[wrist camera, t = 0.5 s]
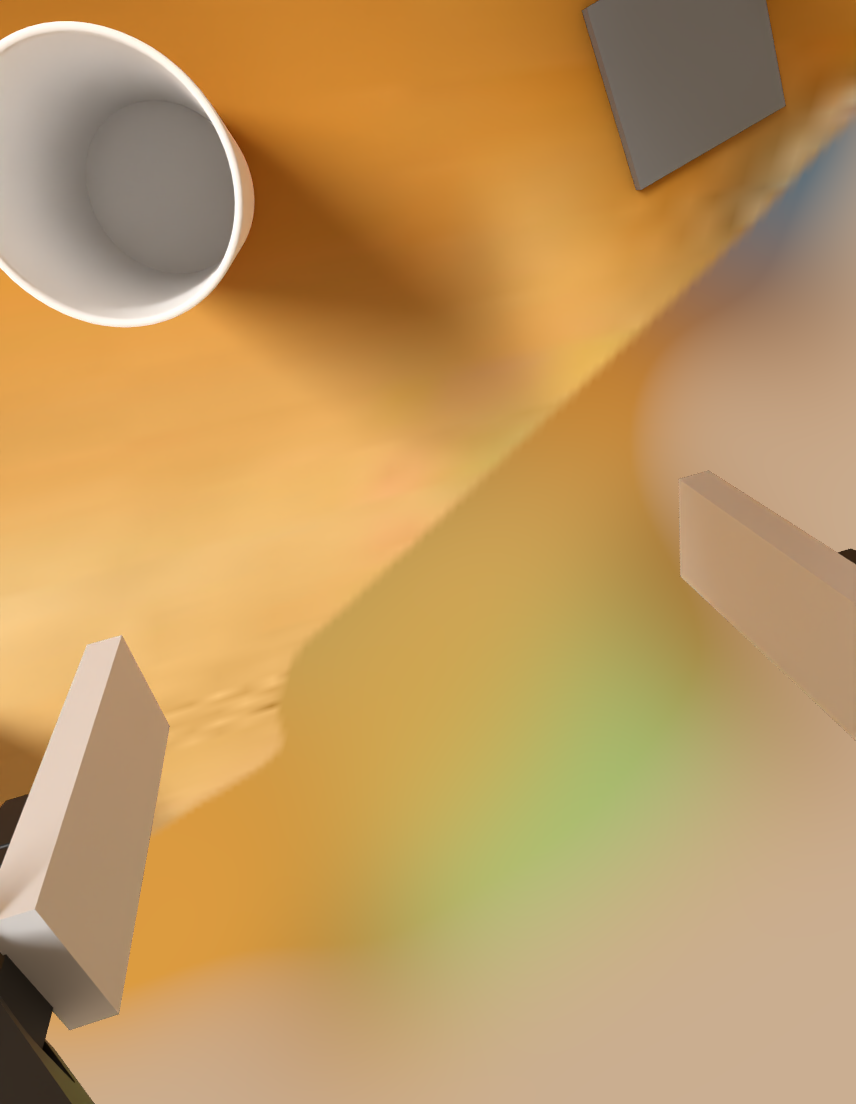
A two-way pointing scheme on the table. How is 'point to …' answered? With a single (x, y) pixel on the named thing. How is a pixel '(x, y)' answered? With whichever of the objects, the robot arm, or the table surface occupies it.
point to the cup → (113, 177)
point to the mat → (683, 75)
